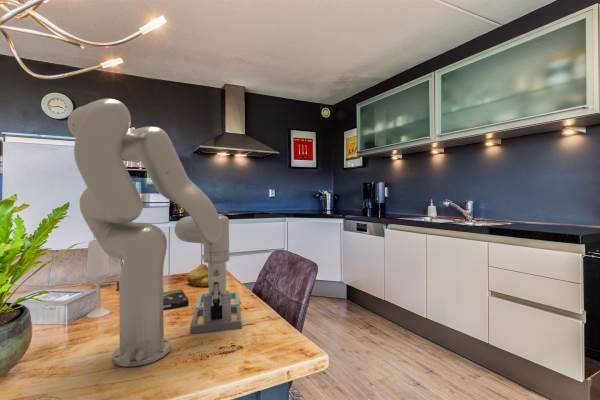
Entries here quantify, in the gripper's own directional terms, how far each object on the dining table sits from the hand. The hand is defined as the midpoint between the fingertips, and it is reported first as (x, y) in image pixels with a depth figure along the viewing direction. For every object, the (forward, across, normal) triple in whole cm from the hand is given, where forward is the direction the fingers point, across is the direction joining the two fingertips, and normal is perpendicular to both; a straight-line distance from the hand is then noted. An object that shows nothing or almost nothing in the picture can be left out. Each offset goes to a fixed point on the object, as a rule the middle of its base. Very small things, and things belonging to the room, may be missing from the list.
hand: (217, 314), depth 95 cm
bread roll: (+2, +44, +8) cm, 45 cm away
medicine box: (+2, 0, 0) cm, 2 cm away
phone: (+3, +50, +39) cm, 63 cm away
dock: (+2, +8, 0) cm, 8 cm away
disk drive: (+3, +22, +17) cm, 28 cm away
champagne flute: (+2, +16, +38) cm, 41 cm away
